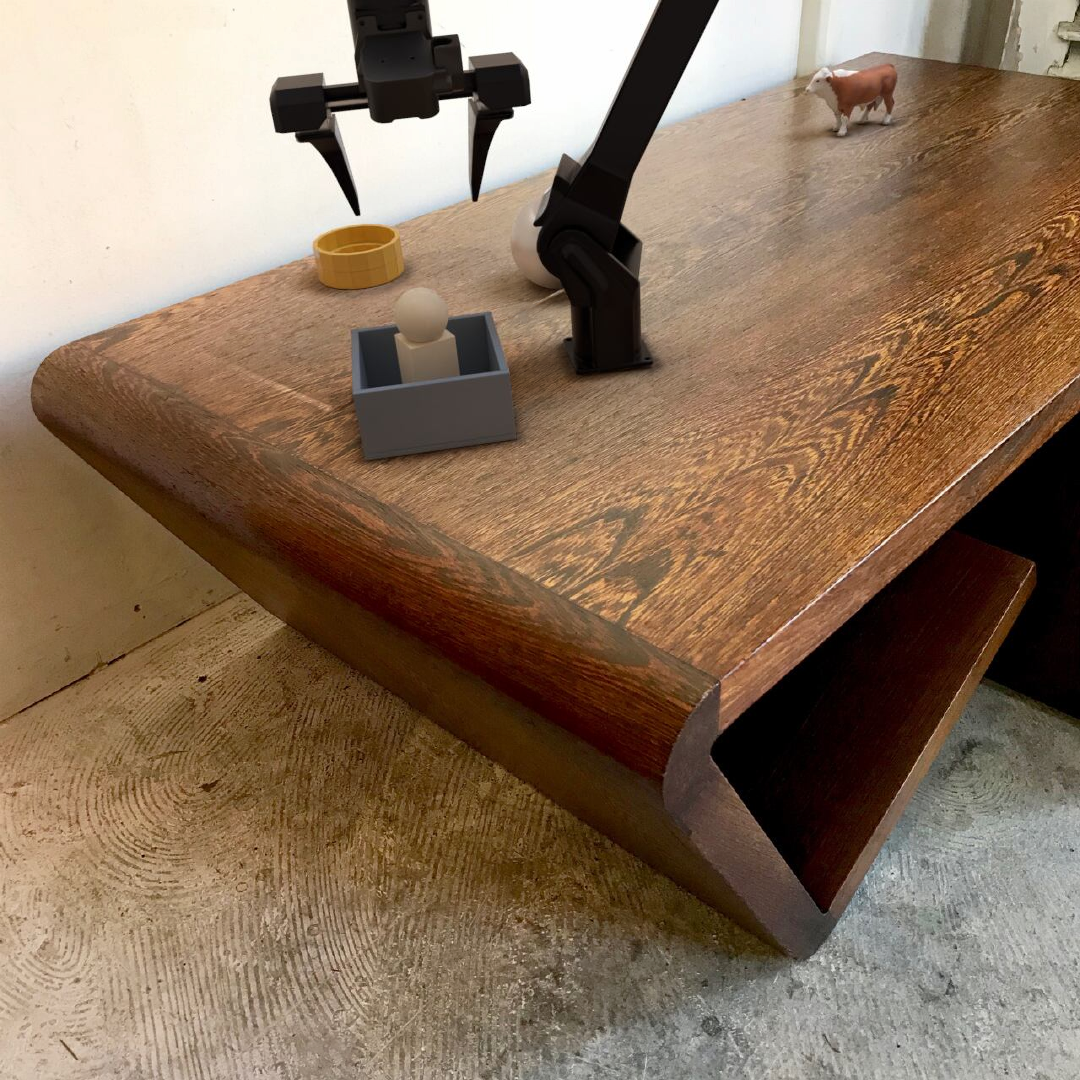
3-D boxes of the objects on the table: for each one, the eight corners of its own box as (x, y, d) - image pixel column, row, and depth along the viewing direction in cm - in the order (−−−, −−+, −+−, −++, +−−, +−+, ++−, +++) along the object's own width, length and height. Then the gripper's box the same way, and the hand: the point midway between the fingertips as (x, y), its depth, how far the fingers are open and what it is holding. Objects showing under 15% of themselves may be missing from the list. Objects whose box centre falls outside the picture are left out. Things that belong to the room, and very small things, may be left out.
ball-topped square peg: (447, 389, 84) (431, 274, 79) (468, 408, 81) (453, 291, 76) (401, 403, 83) (381, 287, 77) (421, 423, 80) (403, 305, 74)
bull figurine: (797, 135, 136) (801, 67, 131) (880, 116, 140) (888, 50, 135) (818, 142, 133) (823, 73, 128) (903, 123, 137) (911, 56, 132)
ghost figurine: (541, 314, 96) (533, 205, 90) (499, 281, 103) (489, 178, 97) (627, 291, 99) (624, 184, 93) (581, 260, 106) (576, 159, 100)
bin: (516, 439, 78) (509, 372, 75) (365, 460, 77) (352, 394, 74) (497, 373, 87) (490, 310, 84) (362, 391, 86) (350, 329, 83)
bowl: (407, 287, 104) (401, 248, 101) (320, 299, 103) (311, 259, 101) (402, 257, 111) (397, 219, 108) (320, 267, 110) (313, 229, 108)
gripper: (242, 19, 66) (294, 258, 75) (534, -11, 68) (550, 226, 77) (254, -7, 75) (298, 209, 84) (511, -33, 77) (527, 182, 86)
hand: (416, 207), depth 83 cm, fingers open, 9 cm apart
